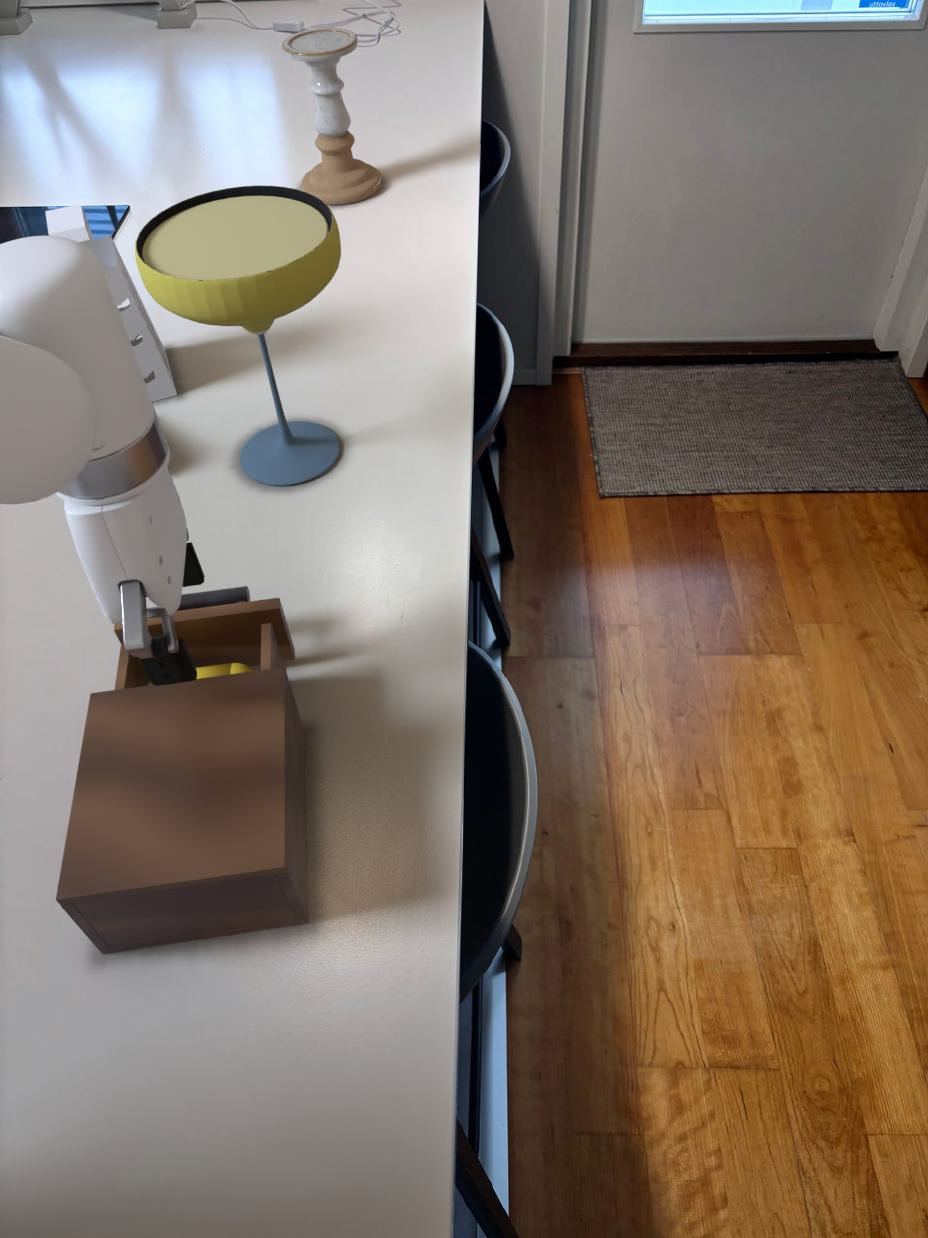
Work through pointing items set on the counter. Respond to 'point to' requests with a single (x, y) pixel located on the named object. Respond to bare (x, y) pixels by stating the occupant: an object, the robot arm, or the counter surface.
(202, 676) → the yellow pill capsule
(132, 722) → the cabinet
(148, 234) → the cocktail glass
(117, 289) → the grater
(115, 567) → the robot arm
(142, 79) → the counter surface
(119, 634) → the drawer
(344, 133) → the candle holder
